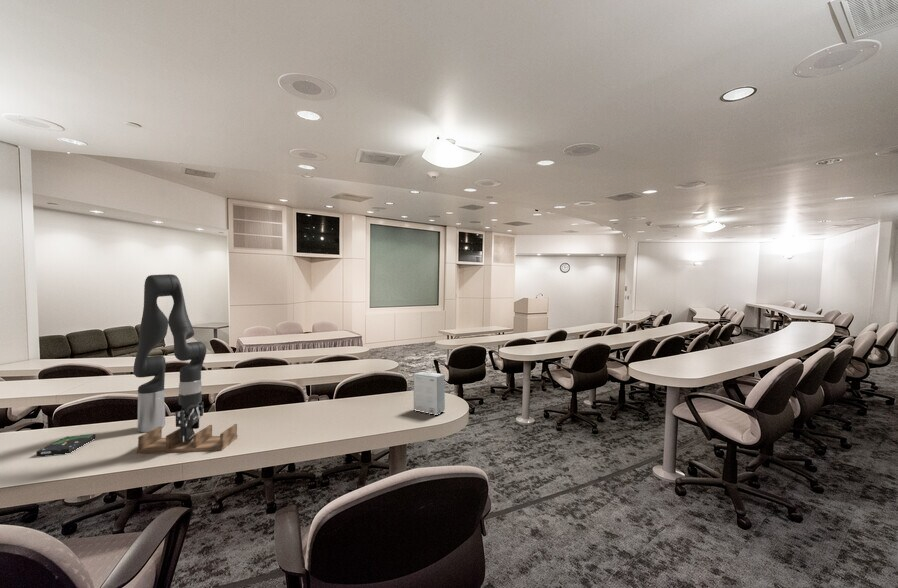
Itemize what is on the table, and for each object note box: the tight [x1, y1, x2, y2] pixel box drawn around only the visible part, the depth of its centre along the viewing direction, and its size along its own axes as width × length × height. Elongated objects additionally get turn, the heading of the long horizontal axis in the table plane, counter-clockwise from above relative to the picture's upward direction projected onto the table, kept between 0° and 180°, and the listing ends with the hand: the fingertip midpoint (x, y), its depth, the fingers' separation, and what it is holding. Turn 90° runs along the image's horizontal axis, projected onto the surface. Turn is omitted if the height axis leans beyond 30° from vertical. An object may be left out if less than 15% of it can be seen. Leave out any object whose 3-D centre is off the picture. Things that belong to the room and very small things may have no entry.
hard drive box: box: [413, 371, 446, 415], centre depth 184 cm, size 16×8×20 cm, turn 58°
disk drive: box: [35, 433, 97, 457], centre depth 140 cm, size 10×3×15 cm
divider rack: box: [136, 423, 238, 454], centre depth 142 cm, size 12×31×6 cm, turn 95°
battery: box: [181, 411, 198, 442], centre depth 142 cm, size 7×4×11 cm, turn 16°
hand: (189, 432), depth 142 cm, fingers closed on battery, 7 cm apart
